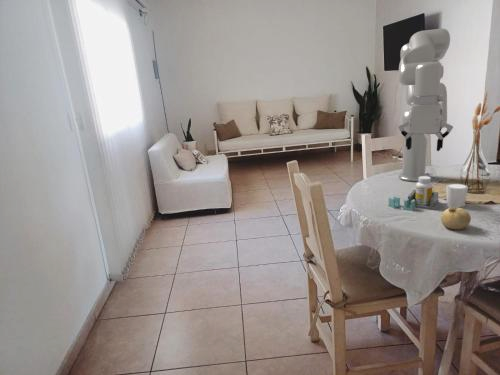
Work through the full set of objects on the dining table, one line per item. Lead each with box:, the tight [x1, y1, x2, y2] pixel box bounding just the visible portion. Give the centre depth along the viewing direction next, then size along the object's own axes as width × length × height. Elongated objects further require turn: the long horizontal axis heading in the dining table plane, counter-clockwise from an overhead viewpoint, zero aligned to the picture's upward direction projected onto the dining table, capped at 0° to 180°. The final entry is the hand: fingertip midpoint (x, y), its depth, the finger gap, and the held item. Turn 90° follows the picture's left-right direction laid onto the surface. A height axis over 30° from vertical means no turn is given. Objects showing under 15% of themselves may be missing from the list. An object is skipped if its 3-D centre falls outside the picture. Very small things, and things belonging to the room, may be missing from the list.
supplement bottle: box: [415, 176, 433, 205], centre depth 129 cm, size 5×5×10 cm
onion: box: [440, 206, 471, 230], centre depth 110 cm, size 8×8×7 cm
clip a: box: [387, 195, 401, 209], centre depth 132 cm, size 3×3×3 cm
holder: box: [407, 189, 439, 211], centre depth 131 cm, size 9×9×4 cm
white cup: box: [445, 183, 469, 208], centre depth 127 cm, size 7×7×7 cm
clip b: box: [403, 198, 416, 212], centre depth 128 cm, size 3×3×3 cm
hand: (423, 149), depth 126 cm, fingers open, 9 cm apart
